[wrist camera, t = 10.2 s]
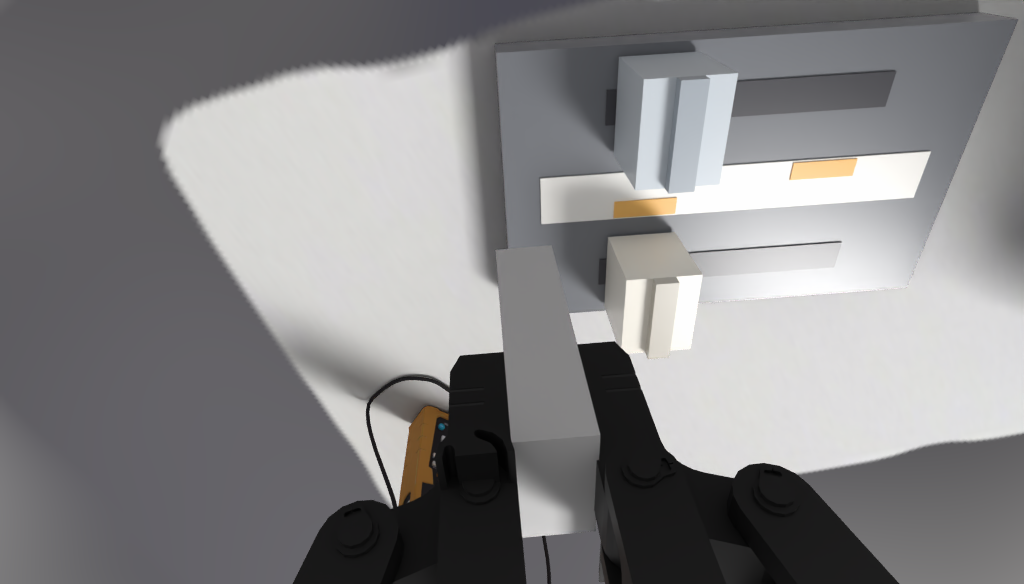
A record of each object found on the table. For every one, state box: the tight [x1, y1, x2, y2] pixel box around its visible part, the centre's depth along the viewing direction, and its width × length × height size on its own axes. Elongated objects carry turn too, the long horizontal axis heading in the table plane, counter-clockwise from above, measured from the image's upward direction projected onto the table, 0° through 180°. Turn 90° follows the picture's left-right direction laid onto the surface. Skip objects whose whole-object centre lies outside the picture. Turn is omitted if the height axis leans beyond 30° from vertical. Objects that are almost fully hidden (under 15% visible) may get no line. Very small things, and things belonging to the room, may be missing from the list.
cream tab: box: [604, 232, 703, 359], centre depth 32 cm, size 4×5×5 cm
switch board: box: [495, 12, 1018, 313], centre depth 33 cm, size 26×16×3 cm, turn 93°
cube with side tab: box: [614, 51, 738, 194], centre depth 26 cm, size 4×5×5 cm
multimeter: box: [366, 377, 551, 584], centre depth 35 cm, size 15×10×20 cm
